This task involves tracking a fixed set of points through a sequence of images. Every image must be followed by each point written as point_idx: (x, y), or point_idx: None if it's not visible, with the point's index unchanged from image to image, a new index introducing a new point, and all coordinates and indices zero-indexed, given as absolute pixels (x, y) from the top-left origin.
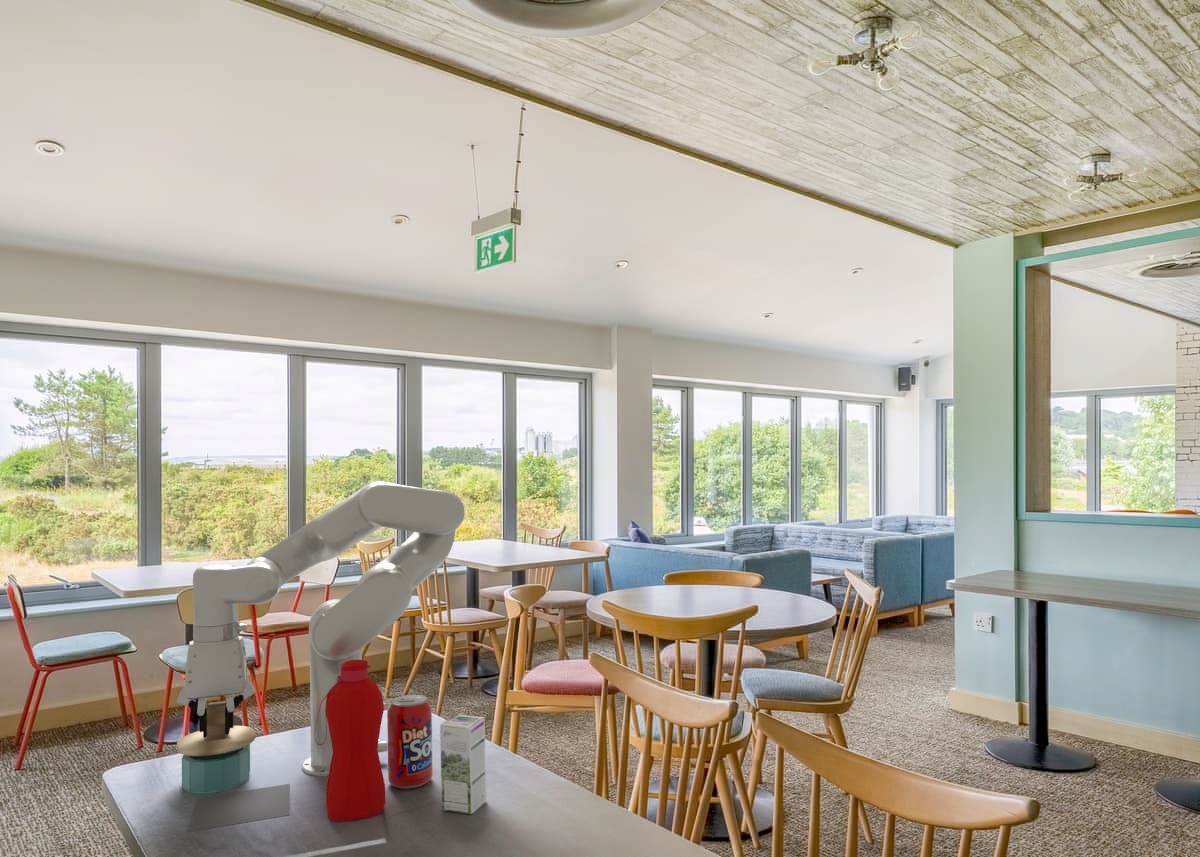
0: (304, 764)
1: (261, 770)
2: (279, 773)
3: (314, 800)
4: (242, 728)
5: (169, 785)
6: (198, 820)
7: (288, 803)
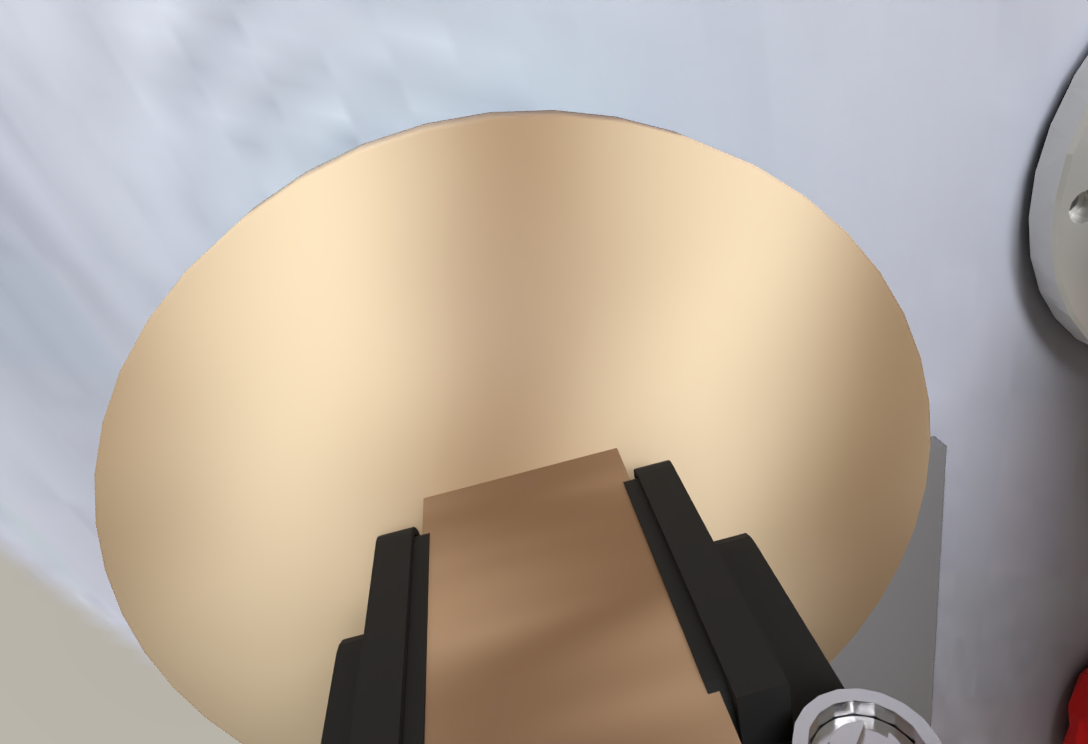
0: (1071, 202)
1: (752, 120)
2: (878, 208)
3: (1029, 583)
4: (775, 282)
5: (149, 309)
6: None
7: (930, 648)
